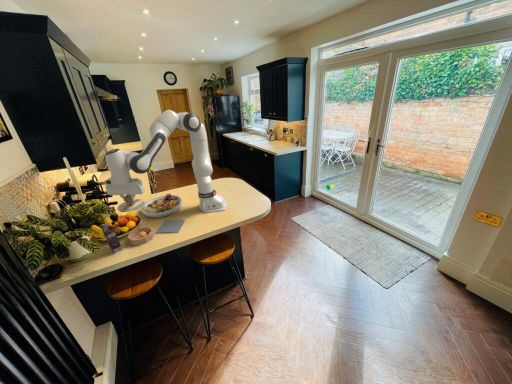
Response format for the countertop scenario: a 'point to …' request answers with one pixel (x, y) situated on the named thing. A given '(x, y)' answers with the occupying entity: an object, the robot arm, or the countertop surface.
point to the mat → (170, 226)
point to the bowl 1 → (141, 240)
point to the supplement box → (111, 238)
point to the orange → (142, 234)
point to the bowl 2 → (161, 206)
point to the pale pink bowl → (130, 204)
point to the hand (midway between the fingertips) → (129, 200)
